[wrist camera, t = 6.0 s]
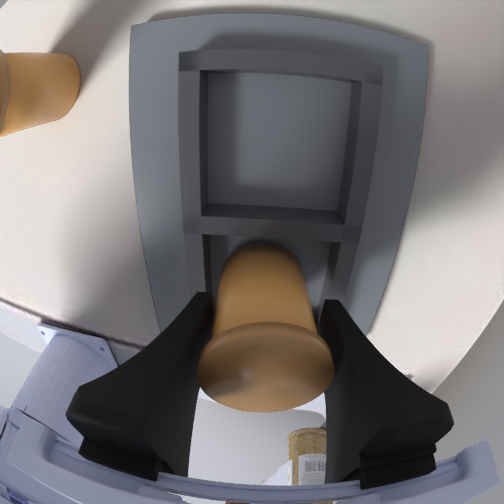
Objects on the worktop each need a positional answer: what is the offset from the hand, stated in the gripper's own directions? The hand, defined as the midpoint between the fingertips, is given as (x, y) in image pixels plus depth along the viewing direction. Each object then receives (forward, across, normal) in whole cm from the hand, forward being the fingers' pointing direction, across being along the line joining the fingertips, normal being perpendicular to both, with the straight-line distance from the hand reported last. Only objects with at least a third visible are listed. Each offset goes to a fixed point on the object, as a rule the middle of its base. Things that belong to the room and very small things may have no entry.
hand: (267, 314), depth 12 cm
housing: (+4, 0, -3) cm, 5 cm away
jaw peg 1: (+4, +12, -10) cm, 16 cm away
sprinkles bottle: (+4, -6, +22) cm, 23 cm away
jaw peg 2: (+2, 0, 0) cm, 2 cm away
